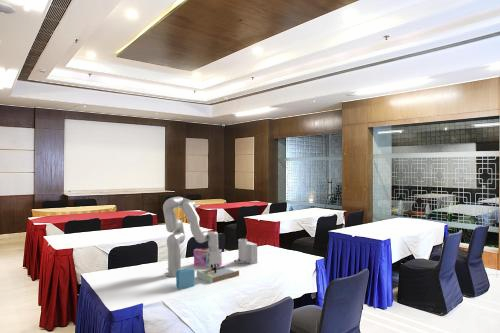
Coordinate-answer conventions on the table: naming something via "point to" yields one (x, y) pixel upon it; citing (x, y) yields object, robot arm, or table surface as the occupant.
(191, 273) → the data package
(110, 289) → the table surface
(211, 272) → the maple block
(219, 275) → the box
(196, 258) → the gum box
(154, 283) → the table surface
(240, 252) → the control panel
